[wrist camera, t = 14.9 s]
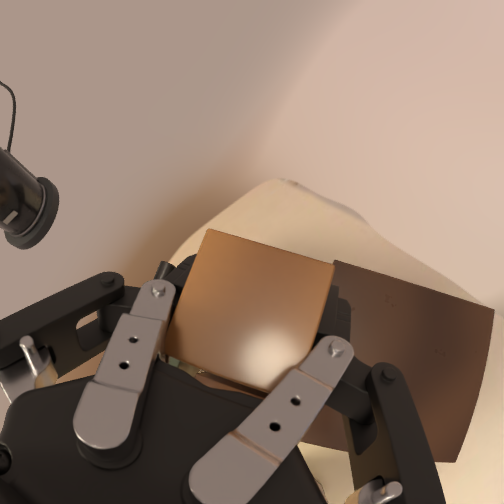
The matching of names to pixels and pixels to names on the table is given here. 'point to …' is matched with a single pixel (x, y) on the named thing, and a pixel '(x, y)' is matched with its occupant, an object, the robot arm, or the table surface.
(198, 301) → the brown wooden block
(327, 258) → the table surface
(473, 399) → the cabinet
